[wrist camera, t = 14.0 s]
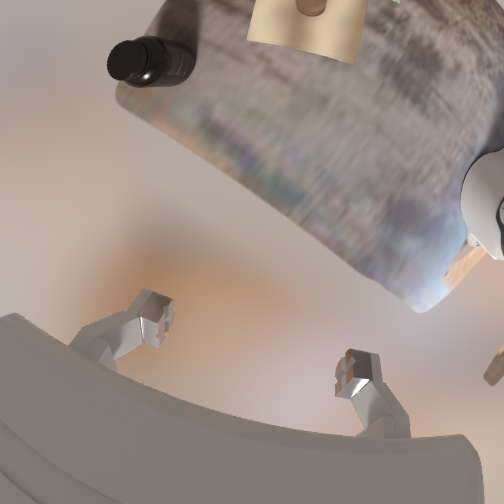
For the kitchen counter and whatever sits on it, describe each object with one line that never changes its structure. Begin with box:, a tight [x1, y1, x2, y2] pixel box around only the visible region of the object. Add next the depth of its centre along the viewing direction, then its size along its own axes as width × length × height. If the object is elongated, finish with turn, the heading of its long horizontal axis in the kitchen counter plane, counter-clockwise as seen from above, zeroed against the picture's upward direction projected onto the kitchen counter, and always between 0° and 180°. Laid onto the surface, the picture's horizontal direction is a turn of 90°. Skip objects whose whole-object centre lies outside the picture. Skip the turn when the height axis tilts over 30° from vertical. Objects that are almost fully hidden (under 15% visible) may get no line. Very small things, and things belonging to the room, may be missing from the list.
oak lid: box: [247, 0, 368, 65], centre depth 18 cm, size 12×12×5 cm
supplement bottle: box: [107, 36, 194, 88], centre depth 26 cm, size 7×7×12 cm
